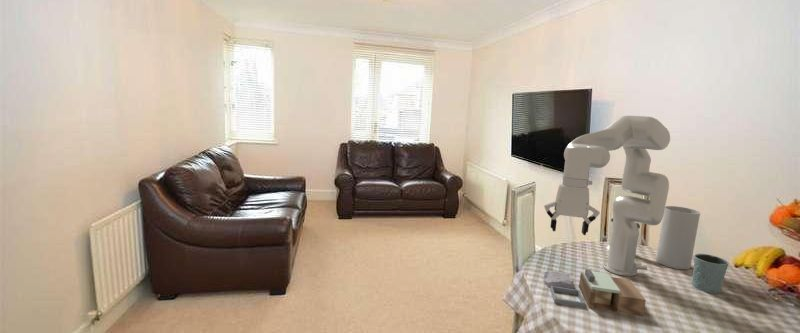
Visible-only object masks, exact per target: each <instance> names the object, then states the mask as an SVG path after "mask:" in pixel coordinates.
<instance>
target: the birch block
mask: <svg viewBox="0 0 800 333" xmlns="http://www.w3.org/2000/svg"><path fill="white" fill-rule="evenodd" d="M595 292H596V295H595V302H594V303H600V304H606V305H610V303H611V296H612V292H605V291H598V290H595Z"/></svg>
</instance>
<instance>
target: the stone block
mask: <svg viewBox="0 0 800 333" xmlns="http://www.w3.org/2000/svg"><path fill="white" fill-rule="evenodd" d="M543 282H544V284H545V285H546V287H548V288H551V286H554V287H561V288H568V289H574V290H575V282H574V280H573V279H572V278H571V276H570V273H568V272H567V273H566V272H562V271H557V270H549V271H545V272H544V273H543Z"/></svg>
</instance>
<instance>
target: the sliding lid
mask: <svg viewBox="0 0 800 333" xmlns="http://www.w3.org/2000/svg"><path fill="white" fill-rule="evenodd" d="M581 271H582V272H581V273H583V275H584V277H585V279H586V281H587V282H588V284H589V286H590V288H591V289H592V290H598V291H605V292H612V293H618V294H620V290H619V288H618V287H617V285H616V284H615V283H614V281H613V280H612V278H611V277H612V276H611V275H610V274H609V273H608V272H607V273H606V272H600V271H592V269H589V268H585V269H582V270H581Z"/></svg>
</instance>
